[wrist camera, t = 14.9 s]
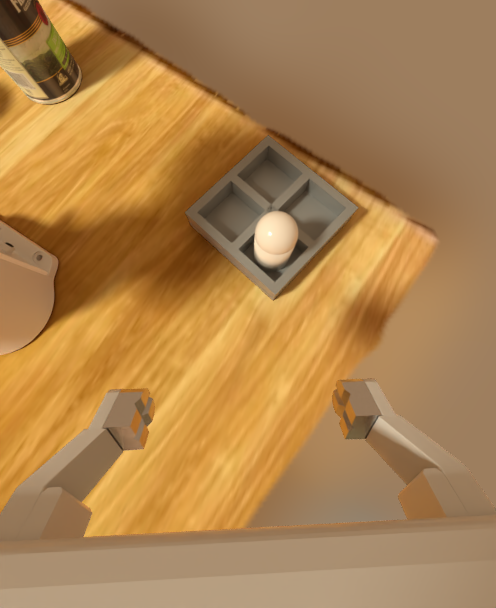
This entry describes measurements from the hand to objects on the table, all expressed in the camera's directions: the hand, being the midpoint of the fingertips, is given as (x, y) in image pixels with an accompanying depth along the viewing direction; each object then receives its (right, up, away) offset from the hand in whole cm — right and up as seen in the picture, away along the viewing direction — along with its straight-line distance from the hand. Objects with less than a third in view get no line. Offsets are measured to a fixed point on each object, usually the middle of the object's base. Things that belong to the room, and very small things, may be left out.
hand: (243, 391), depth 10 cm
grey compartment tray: (+3, +16, +25) cm, 30 cm away
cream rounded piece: (+4, +11, +23) cm, 26 cm away
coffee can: (-33, +42, +30) cm, 62 cm away
